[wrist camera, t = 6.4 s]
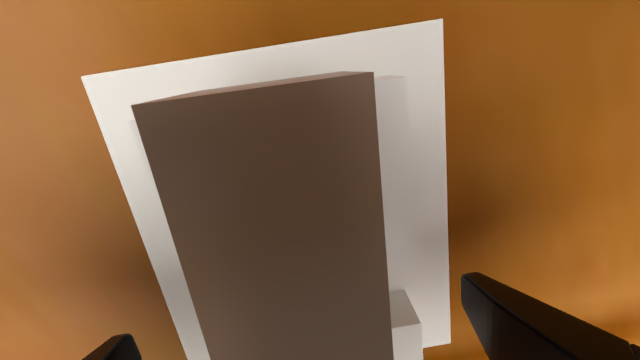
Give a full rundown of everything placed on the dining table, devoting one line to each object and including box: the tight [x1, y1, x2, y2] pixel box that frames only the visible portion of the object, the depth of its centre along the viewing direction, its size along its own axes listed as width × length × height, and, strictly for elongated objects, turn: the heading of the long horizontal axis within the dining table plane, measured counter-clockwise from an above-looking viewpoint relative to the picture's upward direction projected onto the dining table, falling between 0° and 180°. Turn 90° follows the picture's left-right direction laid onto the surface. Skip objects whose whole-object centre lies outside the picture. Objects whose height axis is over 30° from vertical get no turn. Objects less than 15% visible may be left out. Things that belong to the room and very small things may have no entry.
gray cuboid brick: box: [131, 71, 394, 360], centre depth 9 cm, size 12×4×4 cm, turn 7°
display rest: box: [81, 19, 451, 360], centre depth 12 cm, size 12×14×3 cm
